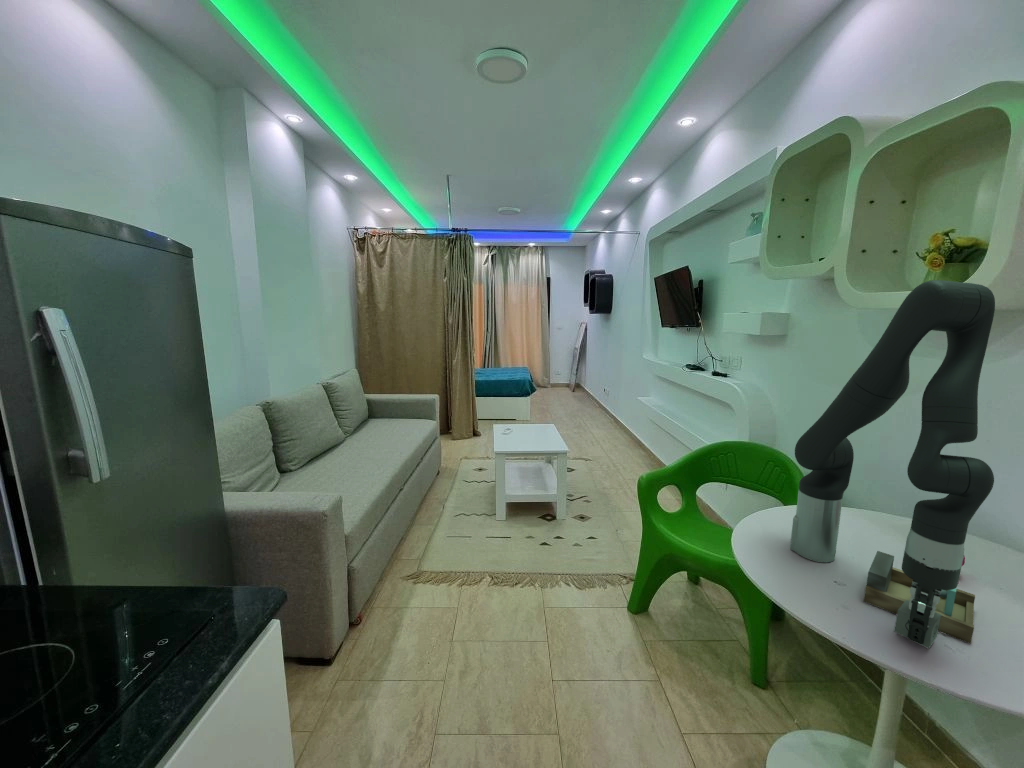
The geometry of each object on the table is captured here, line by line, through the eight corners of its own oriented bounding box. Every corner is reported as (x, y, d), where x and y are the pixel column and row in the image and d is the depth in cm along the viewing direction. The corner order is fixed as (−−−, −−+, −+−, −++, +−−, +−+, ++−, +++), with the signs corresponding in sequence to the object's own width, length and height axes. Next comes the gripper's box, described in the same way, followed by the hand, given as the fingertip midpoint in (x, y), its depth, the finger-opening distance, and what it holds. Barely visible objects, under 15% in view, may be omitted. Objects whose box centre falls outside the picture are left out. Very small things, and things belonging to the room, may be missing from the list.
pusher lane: (863, 601, 91) (867, 573, 89) (874, 574, 99) (878, 549, 98) (970, 644, 79) (977, 612, 77) (972, 609, 87) (978, 580, 86)
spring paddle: (921, 616, 85) (927, 582, 83) (926, 592, 91) (931, 560, 90) (949, 627, 82) (956, 592, 80) (952, 602, 88) (958, 569, 87)
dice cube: (894, 631, 81) (897, 609, 80) (902, 620, 83) (906, 599, 82) (928, 648, 76) (933, 625, 76) (936, 637, 79) (941, 614, 78)
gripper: (910, 533, 84) (897, 604, 87) (899, 562, 75) (885, 641, 78) (964, 549, 78) (947, 625, 81) (959, 583, 69) (941, 666, 72)
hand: (917, 632), depth 80 cm, fingers closed on dice cube, 5 cm apart
